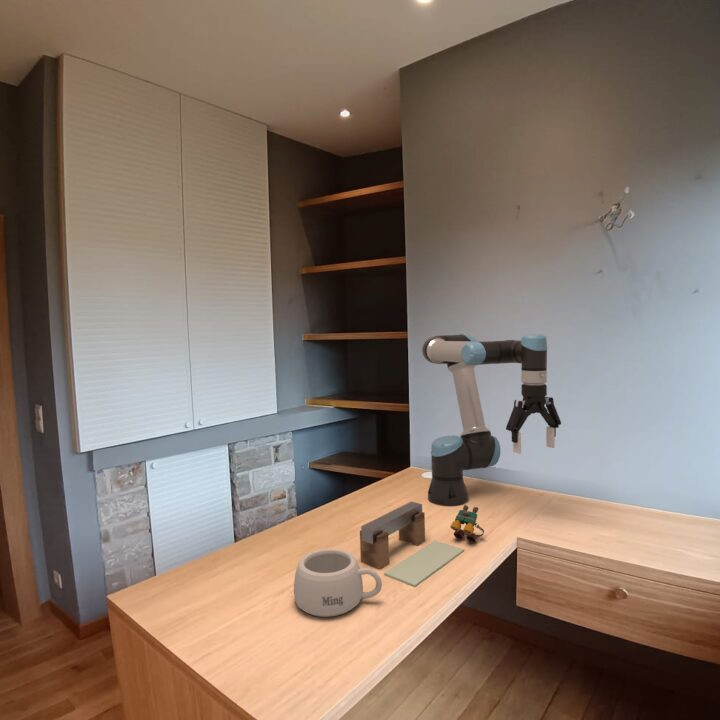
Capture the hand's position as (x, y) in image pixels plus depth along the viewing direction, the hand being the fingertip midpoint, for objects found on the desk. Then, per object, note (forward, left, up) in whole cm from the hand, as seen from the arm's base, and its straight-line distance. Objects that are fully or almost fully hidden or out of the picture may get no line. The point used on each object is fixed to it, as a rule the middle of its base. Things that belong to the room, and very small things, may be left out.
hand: (534, 450), depth 153 cm
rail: (-26, -40, -18) cm, 51 cm away
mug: (-21, -69, -26) cm, 77 cm away
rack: (-26, -40, -25) cm, 54 cm away
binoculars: (-13, -21, -26) cm, 36 cm away
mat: (-15, -40, -25) cm, 50 cm away
